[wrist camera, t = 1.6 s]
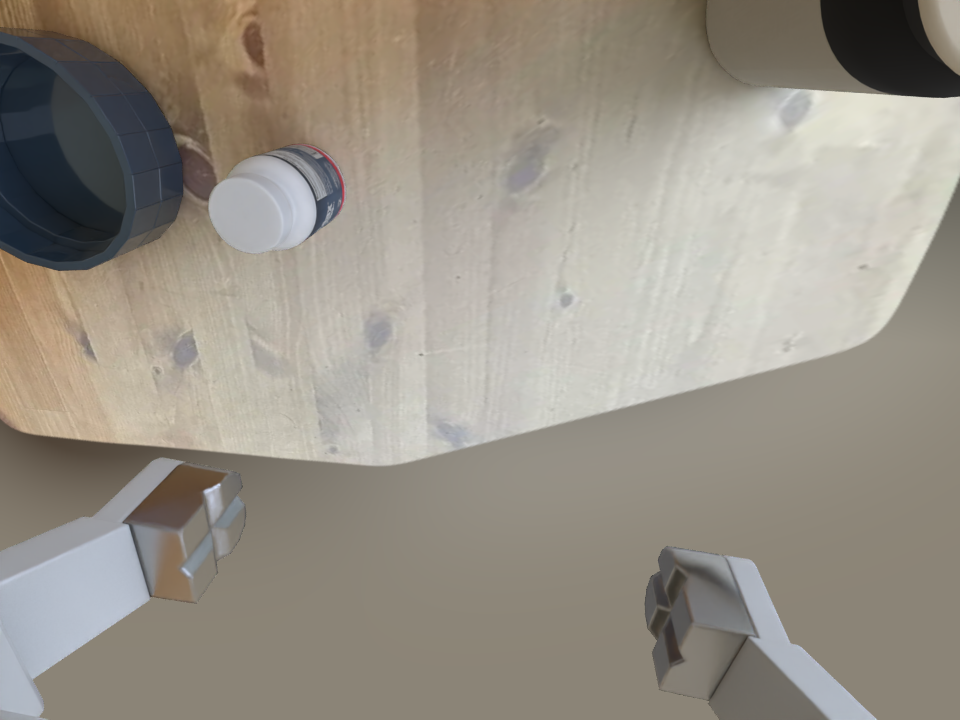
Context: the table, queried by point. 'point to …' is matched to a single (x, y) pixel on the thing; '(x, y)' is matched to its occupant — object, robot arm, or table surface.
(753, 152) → the table surface
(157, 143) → the bowl
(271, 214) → the pill bottle
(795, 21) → the travel mug
